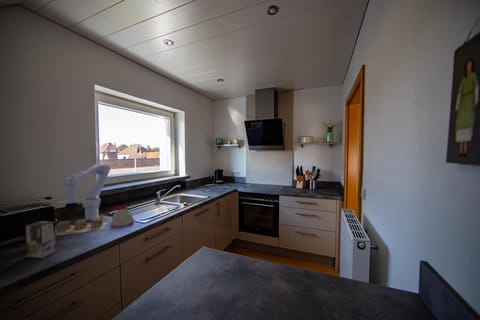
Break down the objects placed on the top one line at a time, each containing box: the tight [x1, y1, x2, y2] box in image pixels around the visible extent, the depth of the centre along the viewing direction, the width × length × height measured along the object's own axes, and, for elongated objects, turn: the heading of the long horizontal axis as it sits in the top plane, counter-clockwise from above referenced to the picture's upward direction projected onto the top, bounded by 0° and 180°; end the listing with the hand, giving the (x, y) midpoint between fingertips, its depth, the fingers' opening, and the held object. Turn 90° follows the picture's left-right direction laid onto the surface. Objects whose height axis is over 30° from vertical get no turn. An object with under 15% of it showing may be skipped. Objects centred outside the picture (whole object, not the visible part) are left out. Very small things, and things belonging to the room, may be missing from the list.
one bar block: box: [73, 218, 88, 230], centre depth 121 cm, size 5×5×5 cm
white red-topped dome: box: [110, 204, 135, 228], centre depth 131 cm, size 14×14×15 cm
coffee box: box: [25, 220, 57, 259], centre depth 92 cm, size 9×6×16 cm
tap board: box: [55, 221, 110, 236], centre depth 121 cm, size 16×28×1 cm, turn 113°
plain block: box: [55, 220, 71, 232], centre depth 118 cm, size 5×5×5 cm
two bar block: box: [90, 217, 104, 228], centre depth 125 cm, size 5×5×5 cm
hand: (71, 214), depth 124 cm, fingers closed
